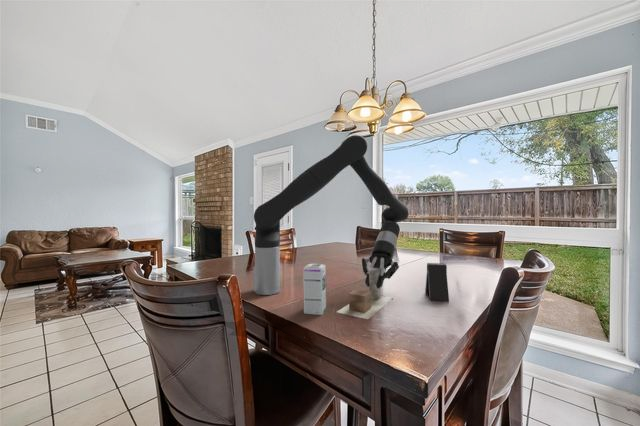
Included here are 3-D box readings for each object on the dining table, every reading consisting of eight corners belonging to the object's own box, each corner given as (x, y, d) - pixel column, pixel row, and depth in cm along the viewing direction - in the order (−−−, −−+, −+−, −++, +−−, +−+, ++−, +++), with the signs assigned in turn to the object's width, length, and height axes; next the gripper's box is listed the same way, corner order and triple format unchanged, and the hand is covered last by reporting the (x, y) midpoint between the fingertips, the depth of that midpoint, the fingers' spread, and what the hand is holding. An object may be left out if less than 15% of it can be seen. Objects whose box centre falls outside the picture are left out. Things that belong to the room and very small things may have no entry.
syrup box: (322, 318, 78) (322, 267, 77) (303, 316, 79) (302, 266, 79) (326, 310, 83) (326, 263, 83) (307, 309, 84) (307, 263, 84)
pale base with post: (336, 314, 80) (336, 278, 79) (365, 294, 98) (365, 265, 98) (368, 322, 74) (368, 283, 74) (392, 299, 93) (393, 268, 93)
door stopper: (449, 301, 91) (449, 266, 91) (430, 300, 92) (430, 265, 92) (442, 293, 100) (442, 261, 100) (425, 292, 101) (425, 260, 101)
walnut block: (349, 309, 81) (349, 293, 81) (356, 305, 85) (356, 289, 85) (364, 313, 79) (364, 296, 78) (371, 308, 83) (371, 291, 83)
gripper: (364, 238, 102) (350, 277, 92) (402, 240, 94) (390, 283, 84) (370, 250, 106) (356, 289, 96) (406, 253, 99) (395, 295, 89)
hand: (372, 286), depth 90 cm, fingers closed on pale base with post, 3 cm apart
